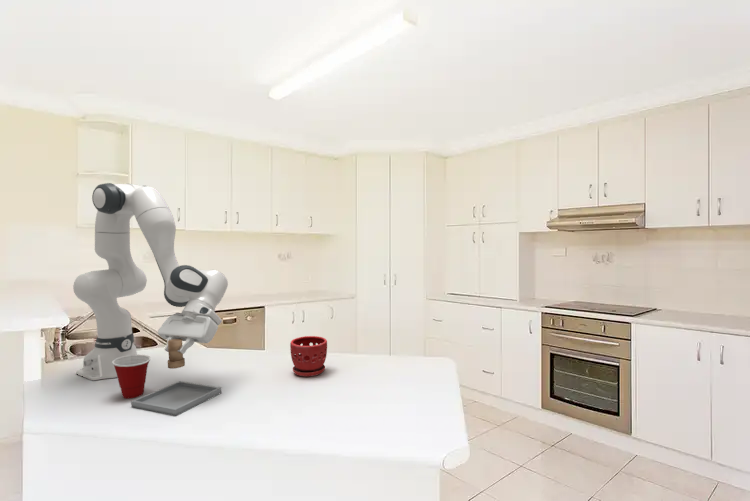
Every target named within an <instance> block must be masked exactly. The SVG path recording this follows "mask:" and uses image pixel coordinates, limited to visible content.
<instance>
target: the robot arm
mask: <svg viewBox="0 0 750 501" xmlns="http://www.w3.org/2000/svg"><path fill="white" fill-rule="evenodd" d="M91 196H92V198H91V199H92V203H93V206H94V208H95V209H96V210H97V211H96V217H95V223H94V252H95V254H96V255H97V256H98V257H99V258H101V259H104V260H105V261H106V262H107V266H108V269H98V270H92V271H89V272H84V273H83V274H79V275H78V276H76V277H75V279H74V282H73V285H72V286H73V293H74V295H75V296H76V298H77V299H79V300H80V301H82V302H84V303H85V304H87V305H88V307H89V308H90V309H91V310H92V312H93V314H94V316H95V322H96V331H97V337H94V338H93V342H95V344H94V347H93V349H91V351H89V352H88V353H87V354H86V355H85V356H84V358H83V361H82V365H83V367H82V368H79V369H78V370H75V371H76V372H75V375H77V374H78V376H81V377H82V376H83V378H85V379H88V380H90V381H99V380H104V379H112V378H113V379H114V378H118V377H117V373H116V370H115V367H114V365H113V363H112V362H113V360H115V359H116V358H119V357H123V356H128V355H138V352H137V347H136V345H135V344H134V342H135V335H134V332H133V328H132V327H133V325H132V315H131V313H130V311H129V310H128V309H126V308H124V307H121V306H120V305H119V303H118V298H123V297H129V296H133V295H135V294H138V293H141V292H142V291H143V290H145V289H146V286H147V281H148V280H147V275H146V273H145V272H144V271H143V269H141V268H139V267H138V265H137V264H136V263H135V261H134V260H133V257H132V254H131V241H130V240H131V232H130V231H131V227H130V224H131V218H132V217H133V216H134V217H135V220H136V222H137V225H138V227H139V228H140V231H141V233H142V235H143V236H144V238H145V240H146V242H147V244H148V246H149V248H150V250H151V252H152V255H153V258H154V260H155V262H156V265H157V267H158V269H159V272H160V275H161V277H162V279H163V284H164V288H163V289H164V290H163V297H164V299H165V301H166V302H167V303H168V304H169V305H171V306H173V307H176V308H183V309H182V310H181V312H175V313H174V314H171V315H170V316H168V317H167V318H166V320H165V321H164V322H163V323H162V324H161V326H160V327H159V328H158V330H157V335H158V336H159V337H160V338H162V339H163V340H167V341H166V342H167V343H166V346H165V348H164V351H165V352H167V353H168V341H169V340H172V339H182V342H185V343H183V344H182V346H180V347H179V349H178V352H179V353H182V354H183V355H184V354H185V353H187V350H188V349H189V348H191V347H193V346H194V344H195V343H201V344H209V343H210V342H211V341H212V340H213V339H214V337H215V336H216V333H217V331H218V330H219V325H221V324H222V322H223V321H222V318H221V317H220V316H219V315H218V314H217V313H216V311H215V310H216V308H217V305H219V303H221V301H222V299H223V297H224V295H225V293H226V291H227V289H228V285H229V284H228V283H229V282H228V279H227V277H226V276H225V274H223V273H222V272H221V271H219V270H217V269H201V268H196V267H194V266H192V265H187V264H183V265H179V262H178V260H177V257H176V255H175V254H176V253H175V239H176V231H177V229H176V226H177V225H176V223H175V218H174V215H173V214H172V211H171V209H170V207H169V206H168V204H167V202H166V200H165V199H164V197H163V195H162V194H161V193H160V192H159V190H157V189H156V187H152V186H150V185H149V186H148V185H140V184H133V183H111V182H107V183H106V182H105V183H101V184H98V185H97V186H96V187H95V188H94V190H93V192H92V195H91Z"/></svg>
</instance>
